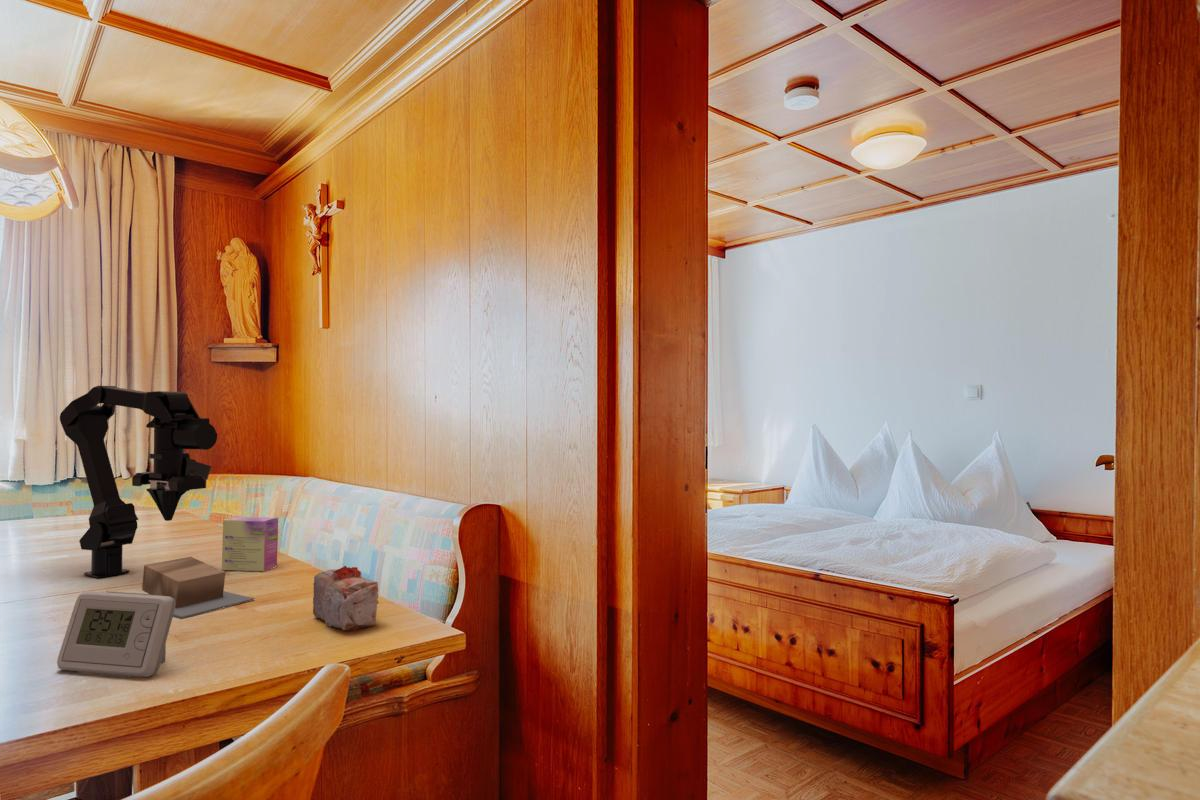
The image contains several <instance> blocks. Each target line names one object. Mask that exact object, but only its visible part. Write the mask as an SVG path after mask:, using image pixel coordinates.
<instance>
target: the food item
mask: <svg viewBox="0 0 1200 800" xmlns="http://www.w3.org/2000/svg"><path fill="white" fill-rule="evenodd" d="M362 575H363V574H362V571H361V570H359V568H358V567H354V566H352V567H347V566H346V565H344V566H342V567H340V568H338V569H337V568H336V569H328V570H325V571H322V572H319V573H317V574H315V575H314V576H313V597H312V604H313V606H312V614H313V616H314V618H318V619H321V620H323V621H324V622H325V627H334V628H338V629H341V630H342V631H345V632H346V631H347V632H348V631H349V632H350V631H355V630H360V629H367V628H370V627H373V626H376V622H377V609H378V604H379V600H378V599H379V582H378V581H375V580H371V579H369V578H365V577H363V576H362Z"/></svg>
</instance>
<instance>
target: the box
mask: <svg viewBox="0 0 1200 800" xmlns="http://www.w3.org/2000/svg"><path fill="white" fill-rule="evenodd" d="M278 535H279V517H270V516H269V517H265V516H264V517H261V516H260V517H259V516H237V515H236V516H232V517H228V518H225V519H223V521H222V555H221V556H222V559H221V560H222V561H221V570H222V571H242V572H246V571H247V572H259V571H263V572H264V571H265V572H267V571H266V570H268V569H270V570H272V569H271V568H273V567H275V566H277V567H278V549H279V548H278V544H279V540H278V539H279V538H278V537H279V536H278ZM275 568H276V567H275ZM273 569H274V568H273ZM268 571H269V570H268ZM263 572H262V573H263Z"/></svg>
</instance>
